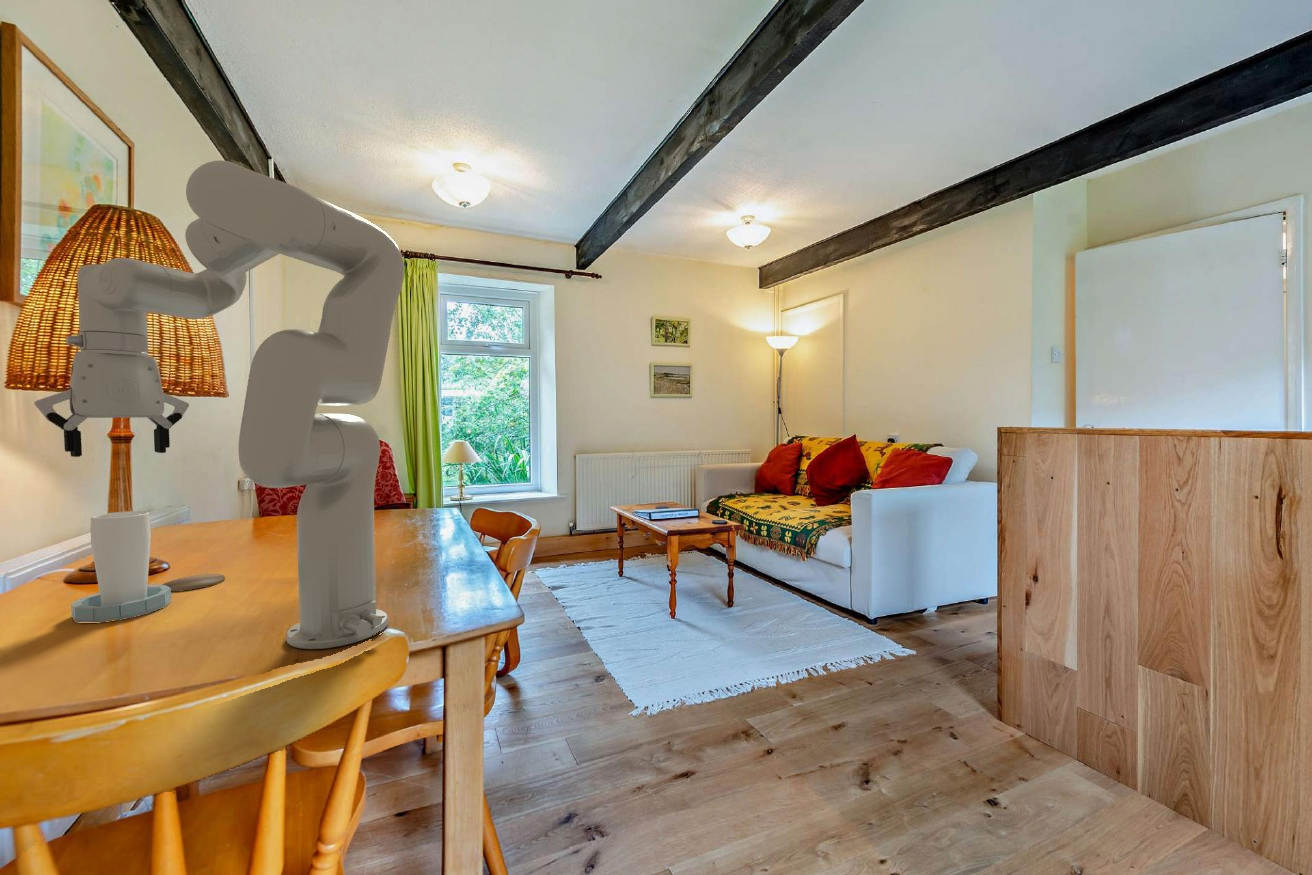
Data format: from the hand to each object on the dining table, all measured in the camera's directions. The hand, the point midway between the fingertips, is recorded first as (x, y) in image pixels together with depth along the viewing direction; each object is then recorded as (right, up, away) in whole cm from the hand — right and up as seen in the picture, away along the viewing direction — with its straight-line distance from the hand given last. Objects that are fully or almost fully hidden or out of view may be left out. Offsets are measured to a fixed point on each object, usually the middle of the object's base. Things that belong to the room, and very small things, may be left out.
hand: (120, 454), depth 85 cm
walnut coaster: (-1, -25, +14) cm, 29 cm away
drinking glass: (0, -25, +1) cm, 25 cm away
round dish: (0, -25, +1) cm, 25 cm away
